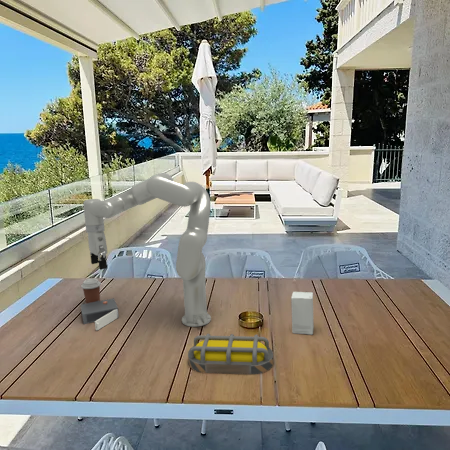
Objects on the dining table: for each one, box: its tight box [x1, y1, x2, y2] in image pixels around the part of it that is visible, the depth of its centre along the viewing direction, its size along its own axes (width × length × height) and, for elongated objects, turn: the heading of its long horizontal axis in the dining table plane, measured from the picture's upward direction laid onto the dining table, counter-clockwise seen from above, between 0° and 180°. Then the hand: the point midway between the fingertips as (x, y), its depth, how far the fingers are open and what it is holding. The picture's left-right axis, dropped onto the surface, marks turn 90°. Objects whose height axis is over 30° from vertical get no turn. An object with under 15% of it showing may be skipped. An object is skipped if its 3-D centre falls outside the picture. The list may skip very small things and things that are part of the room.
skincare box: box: [290, 291, 315, 335], centre depth 158 cm, size 8×7×16 cm
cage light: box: [187, 333, 274, 375], centre depth 140 cm, size 15×8×30 cm
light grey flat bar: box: [94, 308, 120, 331], centre depth 172 cm, size 2×13×4 cm, turn 153°
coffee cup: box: [80, 277, 102, 304], centre depth 194 cm, size 9×9×12 cm
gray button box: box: [80, 298, 120, 325], centre depth 182 cm, size 14×15×5 cm
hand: (99, 266), depth 174 cm, fingers open, 9 cm apart
